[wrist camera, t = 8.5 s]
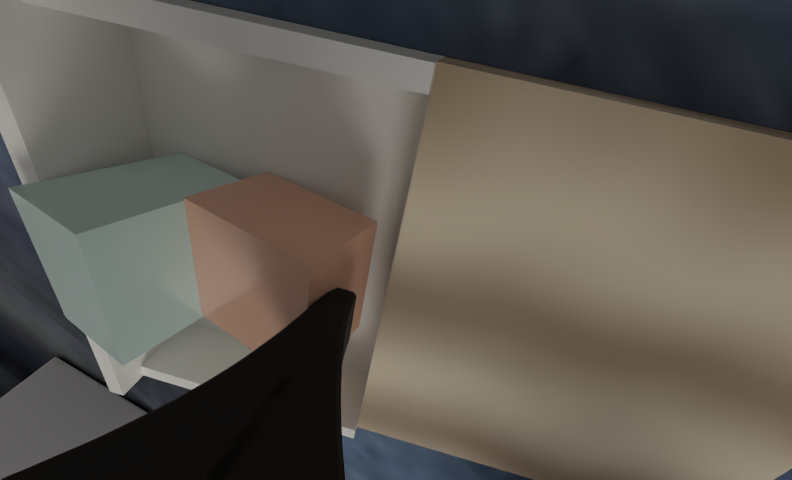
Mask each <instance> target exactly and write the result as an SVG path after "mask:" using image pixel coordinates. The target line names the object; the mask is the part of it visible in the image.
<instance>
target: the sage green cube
mask: <svg viewBox="0 0 792 480" xmlns="http://www.w3.org/2000/svg"><path fill="white" fill-rule="evenodd" d="M239 180H240V179H237V178H235V177H233V176H231V175H229V174H227V173H225V172H223V171H221V170H218V169H216V168H214V167H212V166H210V165H208V164H206V163H204V162H202V161H199V160H197V159H195V158H193V157H191V156H189V155H187V154H185V153H179V154H174V155H169V156H164V157H159V158H154V159H149V160H144V161H139V162H134V163H129V164H124V165H119V166H114V167H109V168H104V169H99V170H94V171H89V172H84V173H79V174H74V175H69V176H64V177H59V178H54V179H49V180H44V181H39V182H34V183H29V184H24V185H19V186H14V187H9V188H8V189H9V191H10V193H11V195H12V198H13V200H14V202H15V204H16V207H17V209H18V211H19V213H20V216H21V218H22V220H23V222H24V225H25V227H26V229H27V231H28V234H29V236H30V238H31V240H32V243H33V245H34V247H35V249H36V251H37V254H38V256H39V258H40V260H41V263H42V265H43V267H44V269H45V272H46V274H47V276H48V278H49V281H50V283H51V285H52V287H53V290H54V292H55V294H56V296H57V299H58V301H59V303H60V305H61V308H62V310H63V312H64V314H65V316H66V318H67V319H68V320H70V321H71V322H72V323H73V324H74V325H75V326H77V327H78V328H79V329H80V330H81V331H82V332H84V333H85V334H86V335H87V336H88V337H89V338H91V339H92V340H93V341H94V342H95V343H97V344H98V345H99V346H100V347H101V348H102V349H104V350H105V351H106V352H107V353H108V354H109V355H111V356H112V357H113V358H114V359H115V360H117V361H118V362H119V363H120V364H121V365H122V366H124V365H126V364H127V363H129V362H131V361H132V360H134V359H135V358H137V357H139V356H140V355H142V354H143V353H145V352H147V351H148V350H150V349H152V348H153V347H155V346H156V345H158V344H160V343H161V342H163V341H165V340H166V339H168V338H169V337H171V336H173V335H174V334H176V333H177V332H179V331H181V330H182V329H184V328H186V327H187V326H189V325H190V324H192V323H194V322H195V321H197V320H199V319H200V318H202V317H203V316H202V311H201V305H200V299H199V292H198V286H197V280H196V273H195V267H194V261H193V255H192V248H191V242H190V236H189V229H188V223H187V217H186V211H185V204H184V200H183V198H184V197H187V196H190V195H193V194H197V193H200V192H203V191H206V190H210V189H213V188H216V187H220V186H223V185H226V184H229V183H233V182H236V181H239Z"/></svg>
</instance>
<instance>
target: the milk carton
mask: <svg viewBox="0 0 792 480" xmlns="http://www.w3.org/2000/svg"><path fill="white" fill-rule="evenodd" d="M145 414H147V412H145V411H144V410H142V409H140V408H139V407H137V406H136V405H134V404H132V403H131V402H129V401H127V400H126V399H124V398H123V397H121V396H119V395H118V394H116V393H113V392H110V391H109V389H108V388H106V387H105V386H103V385H101V384H100V383H98V382H97V381H95V380H93V379H92V378H90V377H88V376H87V375H85V374H83V373H82V372H80V371H79V370H77V369H75V368H74V367H72V366H70V365H69V364H67V363H65V362H64V361H62V360H60V359H59V358H57V357H54V358H53V359H51V360H50V361H49V362H47V363H46V364H45V365H43V366H42V367H41V368H40V369H38V370H37V371H36V372H34V373H33V374H32V375H30V376H29V377H28V378H26V379H25V380H24V381H23V382H21V383H20V384H19V385H17V386H16V387H15V388H13V389H12V390H11V391H9V392H8V393H7V394H6V395H4V396H3V397H2V398H0V480H1V479H3V478H4V477H7V476H9V475H11V474H14V473H16V472H19V471H21V470H24V469H26V468H28V467H31V466H33V465H35V464H38V463H40V462H42V461H45V460H47V459H49V458H52V457H54V456H56V455H59V454H61V453H63V452H66V451H68V450H70V449H73V448H75V447H77V446H80V445H82V444H84V443H87V442H89V441H91V440H93V439H95V438H98V437H100V436H102V435H104V434H106V433H108V432H110V431H112V430H114V429H116V428H119V427H121V426H123V425H125V424H127V423H129V422H131V421H133V420H135V419H137V418H139V417H141V416H143V415H145Z"/></svg>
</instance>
